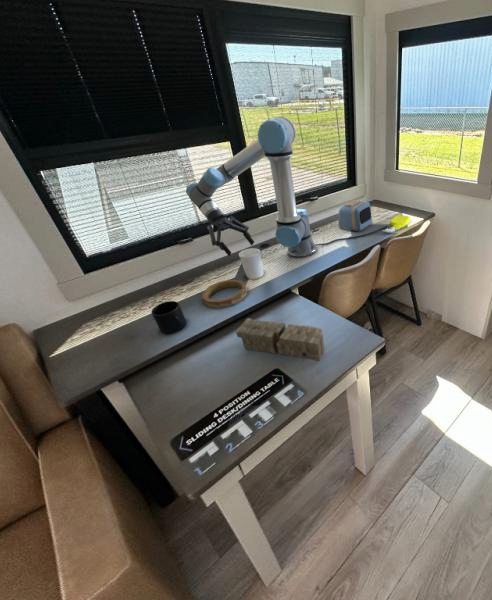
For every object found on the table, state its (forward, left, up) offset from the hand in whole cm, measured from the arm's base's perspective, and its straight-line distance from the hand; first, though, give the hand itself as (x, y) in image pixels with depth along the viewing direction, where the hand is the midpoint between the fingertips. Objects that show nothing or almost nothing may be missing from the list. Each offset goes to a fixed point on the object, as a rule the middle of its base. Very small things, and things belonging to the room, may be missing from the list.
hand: (241, 248), depth 149 cm
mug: (+30, +34, -13) cm, 47 cm away
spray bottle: (-91, -20, -13) cm, 94 cm away
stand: (+11, +18, -13) cm, 25 cm away
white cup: (-3, +4, -13) cm, 14 cm away
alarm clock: (-69, -33, -13) cm, 77 cm away
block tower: (-8, +63, -13) cm, 64 cm away
